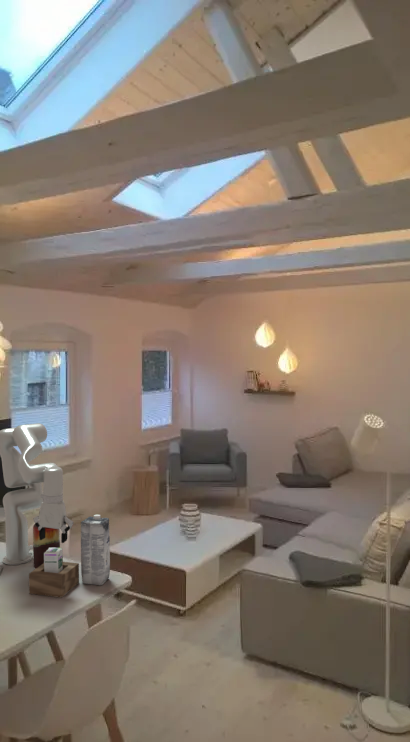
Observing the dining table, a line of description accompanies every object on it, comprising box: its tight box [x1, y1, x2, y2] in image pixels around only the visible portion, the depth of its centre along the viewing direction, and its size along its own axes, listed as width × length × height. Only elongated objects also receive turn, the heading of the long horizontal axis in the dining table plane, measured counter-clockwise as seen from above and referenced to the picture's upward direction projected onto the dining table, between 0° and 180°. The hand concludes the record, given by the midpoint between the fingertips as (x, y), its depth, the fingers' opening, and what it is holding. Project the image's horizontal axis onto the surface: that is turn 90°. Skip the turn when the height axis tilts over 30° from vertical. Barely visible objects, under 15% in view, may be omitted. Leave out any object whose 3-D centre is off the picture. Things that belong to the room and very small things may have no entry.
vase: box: [32, 510, 61, 570], centre depth 235 cm, size 11×11×26 cm
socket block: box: [28, 561, 80, 598], centre depth 219 cm, size 14×14×8 cm
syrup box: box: [44, 547, 64, 573], centre depth 219 cm, size 6×6×14 cm
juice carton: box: [80, 514, 111, 586], centre depth 225 cm, size 9×10×27 cm
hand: (53, 540), depth 219 cm, fingers open, 9 cm apart
